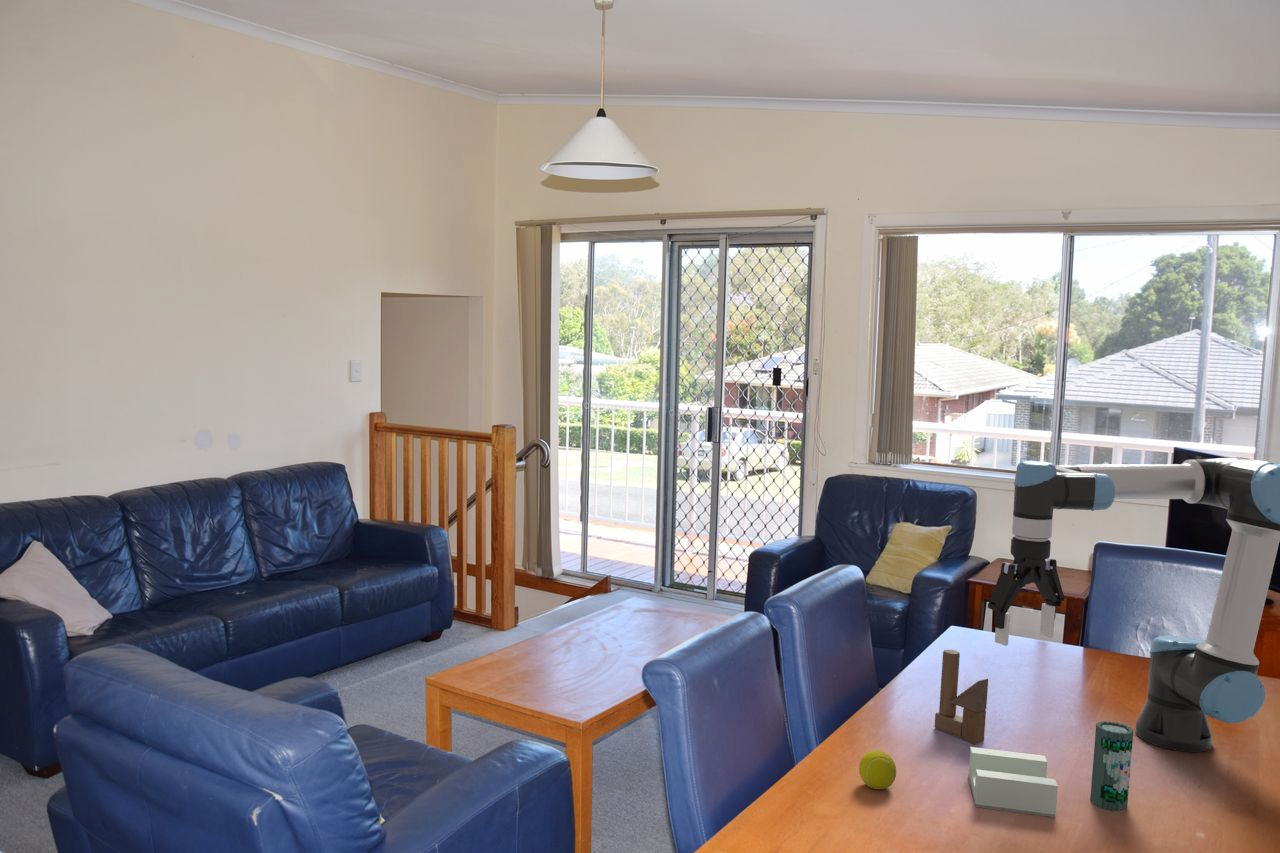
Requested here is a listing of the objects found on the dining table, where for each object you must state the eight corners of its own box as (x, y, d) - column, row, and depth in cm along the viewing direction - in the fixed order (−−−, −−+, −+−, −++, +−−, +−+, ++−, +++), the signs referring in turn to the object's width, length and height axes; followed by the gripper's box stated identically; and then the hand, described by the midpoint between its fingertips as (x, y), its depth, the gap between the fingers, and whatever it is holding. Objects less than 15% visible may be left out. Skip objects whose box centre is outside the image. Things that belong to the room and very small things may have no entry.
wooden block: (974, 745, 218) (979, 664, 216) (933, 728, 226) (938, 650, 225) (984, 741, 220) (990, 661, 218) (944, 725, 229) (949, 647, 227)
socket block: (1042, 785, 199) (1044, 755, 198) (1055, 817, 185) (1057, 785, 185) (968, 775, 202) (970, 746, 201) (975, 806, 188) (977, 775, 188)
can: (1109, 813, 187) (1116, 735, 186) (1083, 799, 193) (1089, 723, 192) (1133, 808, 190) (1139, 731, 189) (1107, 794, 195) (1113, 719, 194)
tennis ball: (855, 778, 199) (857, 744, 198) (890, 780, 198) (893, 746, 198) (861, 794, 192) (863, 758, 191) (898, 796, 191) (901, 760, 191)
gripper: (1056, 530, 214) (1049, 627, 216) (973, 538, 202) (966, 641, 204) (1087, 536, 208) (1079, 637, 210) (1003, 545, 195) (996, 652, 197)
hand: (1024, 639), depth 207 cm, fingers open, 13 cm apart
